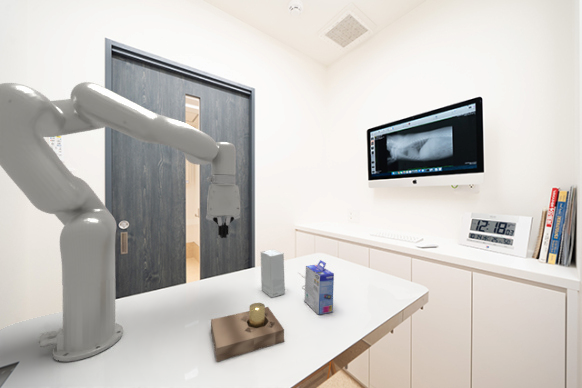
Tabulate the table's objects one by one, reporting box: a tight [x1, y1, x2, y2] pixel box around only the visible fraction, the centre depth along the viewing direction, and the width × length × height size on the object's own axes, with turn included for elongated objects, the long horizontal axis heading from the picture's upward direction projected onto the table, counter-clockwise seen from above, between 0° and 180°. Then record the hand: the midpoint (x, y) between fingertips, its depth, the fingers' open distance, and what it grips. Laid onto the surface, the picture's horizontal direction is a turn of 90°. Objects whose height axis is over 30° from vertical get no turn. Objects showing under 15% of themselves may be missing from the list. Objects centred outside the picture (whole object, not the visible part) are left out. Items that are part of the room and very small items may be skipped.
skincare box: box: [260, 248, 286, 298], centre depth 83 cm, size 8×6×15 cm
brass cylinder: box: [248, 302, 266, 328], centre depth 59 cm, size 4×4×7 cm
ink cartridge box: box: [304, 260, 335, 316], centre depth 73 cm, size 10×6×14 cm, turn 24°
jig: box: [210, 306, 285, 362], centre depth 58 cm, size 16×12×3 cm
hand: (223, 237), depth 73 cm, fingers closed
